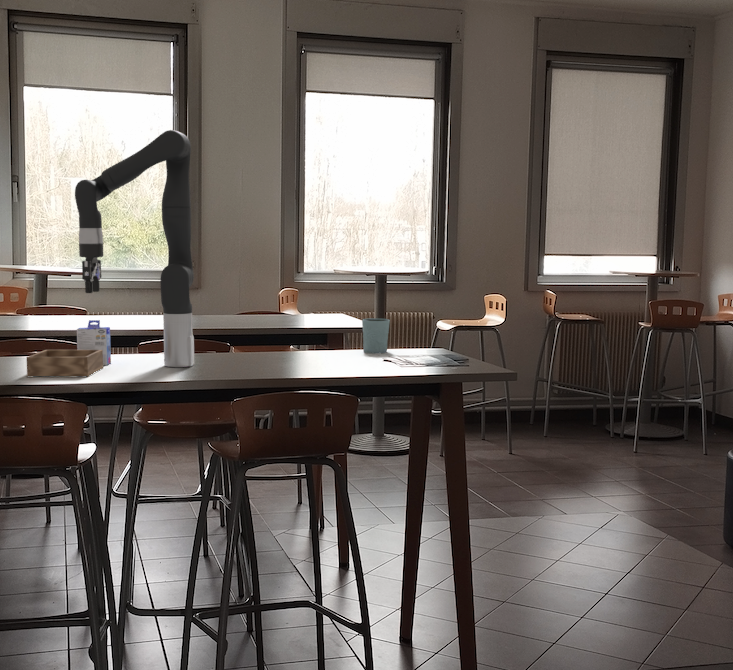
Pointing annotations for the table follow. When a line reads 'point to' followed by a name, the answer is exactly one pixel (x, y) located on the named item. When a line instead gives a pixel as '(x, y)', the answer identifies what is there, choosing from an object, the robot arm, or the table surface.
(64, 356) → the walled box
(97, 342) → the ink cartridge box
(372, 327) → the grey tapered piece
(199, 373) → the table surface
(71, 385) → the table surface
